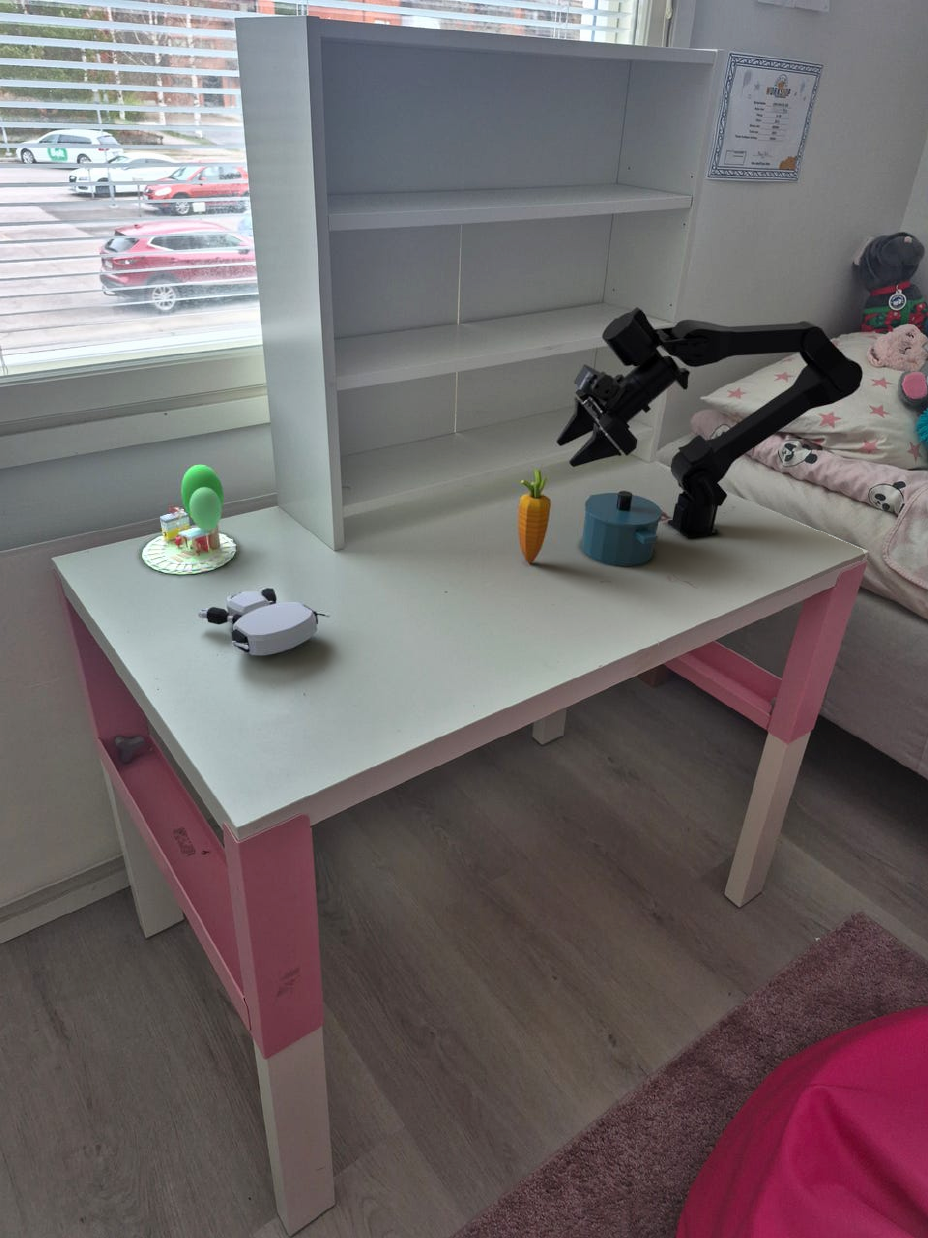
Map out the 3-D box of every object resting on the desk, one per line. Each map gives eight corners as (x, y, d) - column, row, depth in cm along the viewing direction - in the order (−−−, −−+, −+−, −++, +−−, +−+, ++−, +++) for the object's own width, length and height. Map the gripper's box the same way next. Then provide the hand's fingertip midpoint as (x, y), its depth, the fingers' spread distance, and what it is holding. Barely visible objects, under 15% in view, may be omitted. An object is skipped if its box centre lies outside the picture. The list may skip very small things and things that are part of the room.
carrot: (535, 573, 132) (545, 482, 125) (507, 564, 135) (515, 474, 127) (550, 561, 136) (560, 472, 128) (523, 552, 138) (531, 464, 130)
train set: (125, 455, 130) (220, 447, 134) (138, 536, 137) (228, 525, 141) (132, 493, 118) (236, 483, 123) (146, 580, 125) (244, 567, 130)
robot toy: (194, 632, 115) (253, 676, 106) (189, 602, 113) (248, 644, 104) (274, 603, 123) (335, 642, 113) (270, 574, 121) (332, 611, 111)
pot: (620, 524, 149) (625, 486, 146) (675, 568, 136) (683, 528, 133) (561, 532, 145) (566, 494, 142) (612, 578, 132) (619, 538, 129)
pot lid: (634, 495, 144) (637, 475, 143) (676, 525, 135) (680, 504, 133) (570, 503, 140) (572, 482, 138) (608, 535, 131) (611, 513, 129)
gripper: (595, 333, 139) (522, 400, 143) (628, 366, 123) (545, 440, 127) (634, 383, 144) (563, 446, 148) (671, 420, 128) (590, 489, 132)
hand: (564, 453), depth 139 cm, fingers open, 9 cm apart
